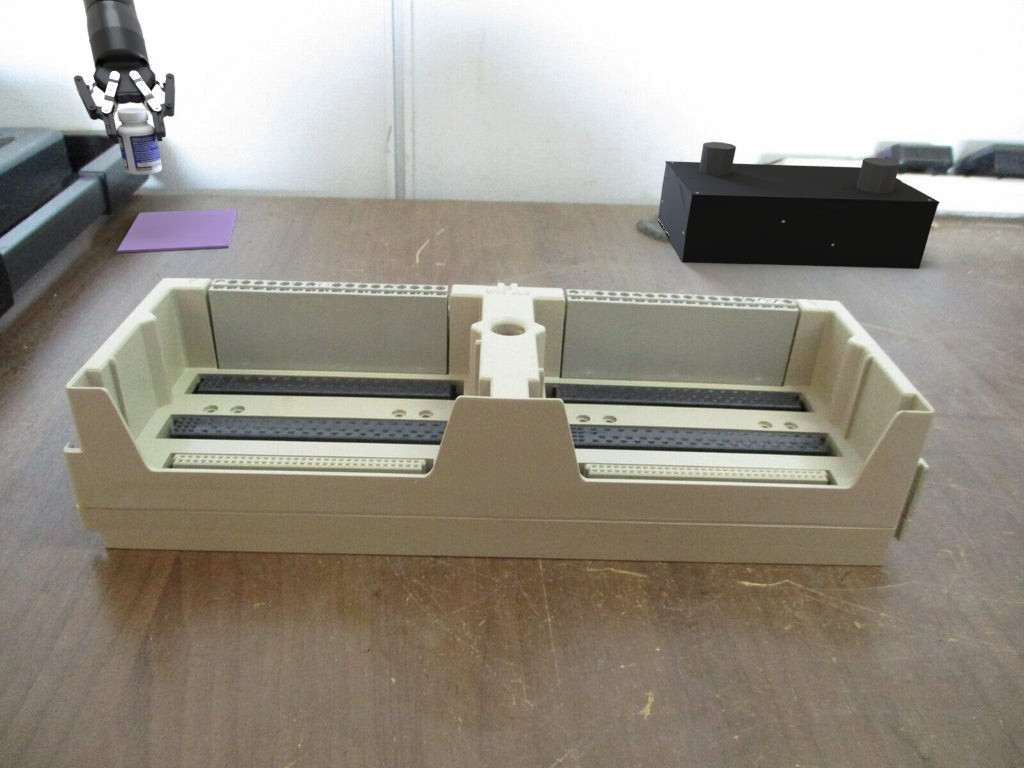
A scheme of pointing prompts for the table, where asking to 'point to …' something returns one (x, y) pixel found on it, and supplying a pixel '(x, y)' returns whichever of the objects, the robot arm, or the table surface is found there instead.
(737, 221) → the control box
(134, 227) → the cloth
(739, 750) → the table surface
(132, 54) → the robot arm
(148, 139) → the pill bottle
